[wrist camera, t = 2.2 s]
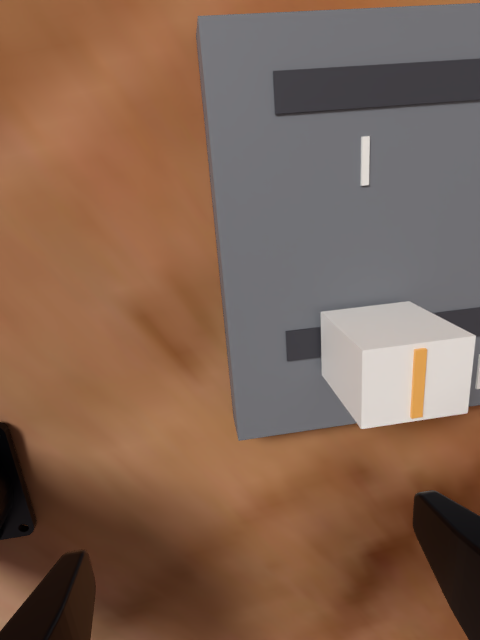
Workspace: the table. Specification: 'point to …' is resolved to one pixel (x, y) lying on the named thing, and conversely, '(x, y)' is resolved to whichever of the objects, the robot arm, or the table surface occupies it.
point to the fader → (396, 363)
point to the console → (338, 187)
